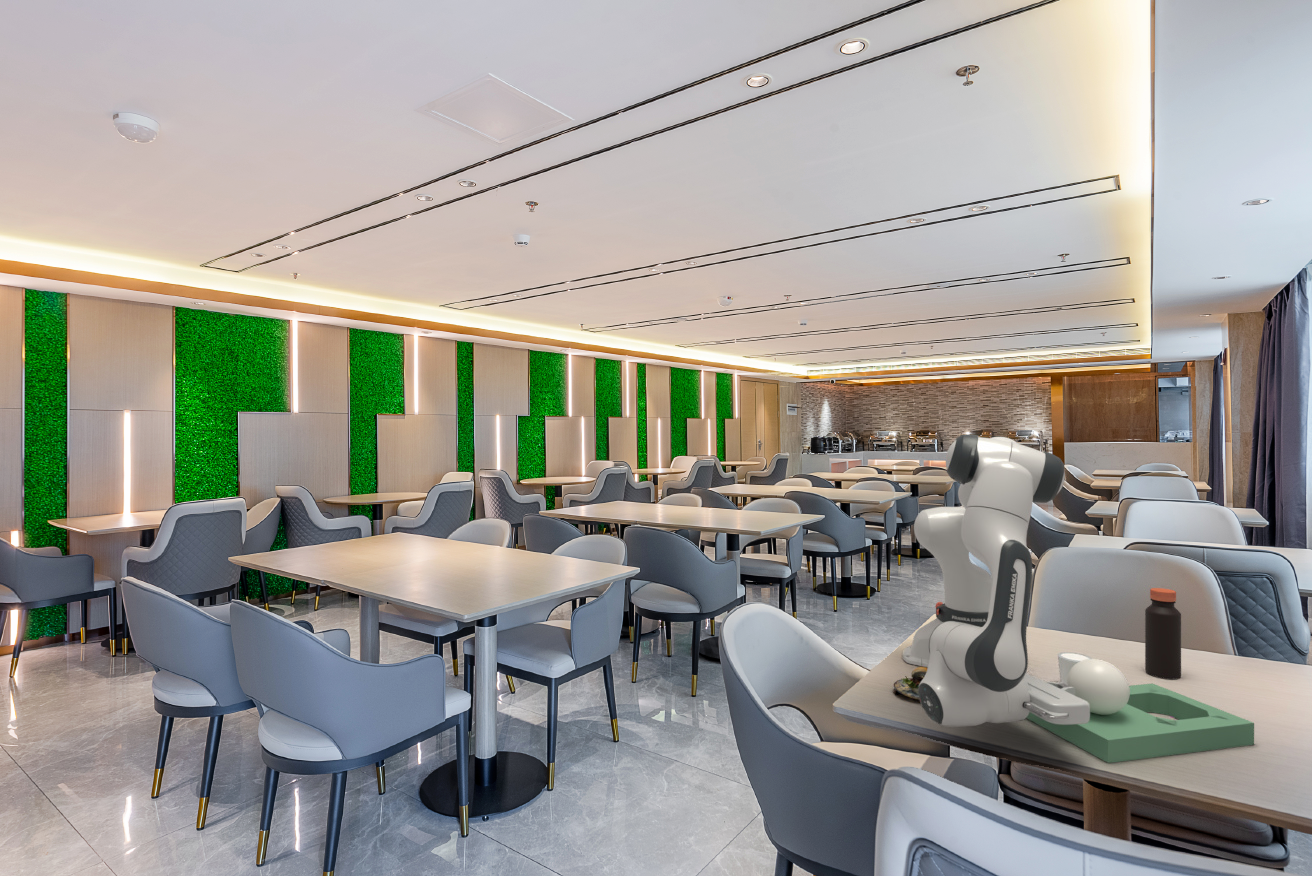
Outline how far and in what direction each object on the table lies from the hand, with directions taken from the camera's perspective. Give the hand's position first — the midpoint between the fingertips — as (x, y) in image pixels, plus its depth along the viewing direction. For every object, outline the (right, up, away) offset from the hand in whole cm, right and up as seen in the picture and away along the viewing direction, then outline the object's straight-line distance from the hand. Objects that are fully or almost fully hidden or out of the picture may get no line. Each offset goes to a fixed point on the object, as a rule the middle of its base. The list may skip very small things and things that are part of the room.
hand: (1069, 689), depth 127 cm
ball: (+6, 0, +1) cm, 6 cm away
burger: (-19, -9, +21) cm, 30 cm away
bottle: (+42, -9, +32) cm, 54 cm away
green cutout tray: (+14, -9, +3) cm, 17 cm away
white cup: (+16, -9, +24) cm, 31 cm away
